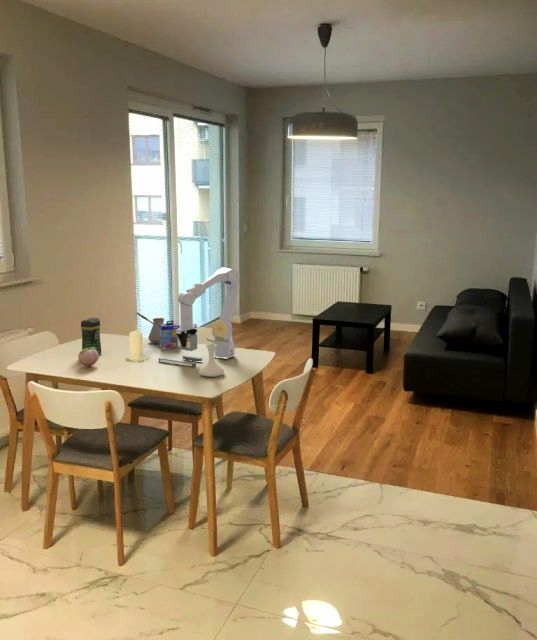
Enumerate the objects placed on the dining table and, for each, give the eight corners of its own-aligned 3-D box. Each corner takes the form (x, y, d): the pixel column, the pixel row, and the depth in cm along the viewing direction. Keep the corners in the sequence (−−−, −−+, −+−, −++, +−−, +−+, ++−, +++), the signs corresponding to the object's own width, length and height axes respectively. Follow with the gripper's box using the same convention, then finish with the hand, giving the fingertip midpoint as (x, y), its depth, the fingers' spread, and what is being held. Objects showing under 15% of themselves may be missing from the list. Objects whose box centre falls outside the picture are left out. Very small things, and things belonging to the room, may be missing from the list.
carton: (183, 346, 296) (183, 332, 294) (197, 348, 292) (197, 334, 291) (177, 349, 291) (176, 334, 290) (191, 351, 288) (191, 336, 286)
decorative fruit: (89, 363, 291) (88, 342, 289) (102, 365, 288) (101, 345, 285) (74, 368, 283) (73, 347, 281) (87, 370, 279) (86, 349, 277)
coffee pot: (174, 341, 334) (173, 314, 331) (160, 346, 325) (160, 318, 322) (143, 336, 345) (142, 310, 341) (129, 341, 335) (128, 314, 332)
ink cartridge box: (162, 349, 318) (161, 321, 315) (159, 346, 323) (158, 319, 320) (180, 347, 322) (180, 320, 319) (177, 345, 327) (176, 318, 324)
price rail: (205, 362, 294) (205, 358, 294) (193, 367, 285) (193, 363, 285) (170, 357, 303) (170, 353, 303) (158, 362, 294) (158, 358, 294)
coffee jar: (93, 358, 300) (91, 321, 296) (79, 356, 302) (77, 319, 299) (104, 353, 309) (102, 317, 306) (90, 352, 312) (88, 316, 308)
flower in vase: (201, 379, 267) (200, 323, 262) (197, 372, 278) (196, 318, 273) (230, 377, 271) (230, 322, 266) (225, 370, 282) (225, 317, 276)
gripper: (185, 321, 280) (185, 350, 283) (202, 315, 293) (202, 343, 296) (172, 319, 283) (172, 348, 286) (189, 314, 296) (190, 341, 299)
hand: (187, 345), depth 291 cm, fingers closed on carton, 5 cm apart
